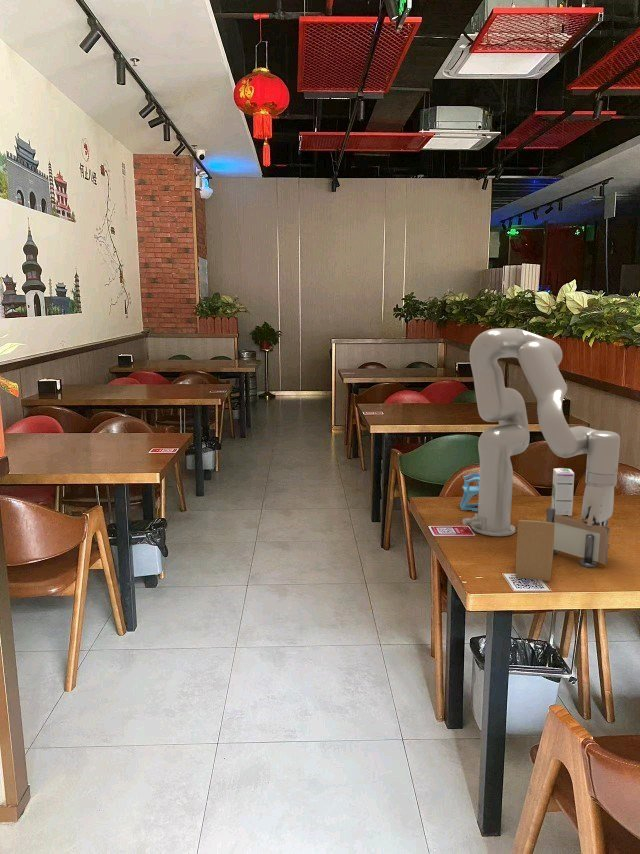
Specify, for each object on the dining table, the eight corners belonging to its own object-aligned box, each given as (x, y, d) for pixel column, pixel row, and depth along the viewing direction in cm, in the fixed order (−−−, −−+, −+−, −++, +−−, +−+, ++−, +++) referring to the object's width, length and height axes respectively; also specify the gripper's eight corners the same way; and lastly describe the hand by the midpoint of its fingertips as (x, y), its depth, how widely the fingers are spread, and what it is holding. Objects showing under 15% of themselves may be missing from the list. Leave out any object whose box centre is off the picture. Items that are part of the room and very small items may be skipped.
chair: (458, 505, 221) (459, 471, 219) (483, 505, 221) (484, 471, 219) (462, 512, 213) (463, 476, 211) (487, 512, 213) (489, 477, 211)
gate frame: (569, 570, 166) (573, 525, 163) (535, 548, 181) (538, 507, 178) (641, 562, 171) (645, 519, 169) (601, 542, 186) (605, 502, 184)
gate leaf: (552, 549, 177) (554, 516, 175) (555, 547, 178) (558, 514, 177) (603, 564, 166) (606, 529, 165) (607, 562, 168) (610, 527, 166)
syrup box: (572, 516, 210) (575, 472, 207) (553, 515, 210) (556, 471, 208) (568, 511, 215) (571, 468, 213) (550, 510, 216) (553, 467, 213)
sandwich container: (550, 559, 173) (553, 505, 171) (551, 582, 159) (555, 523, 156) (516, 555, 176) (519, 502, 173) (514, 577, 161) (518, 519, 159)
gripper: (598, 471, 178) (593, 535, 181) (574, 480, 167) (569, 548, 170) (626, 475, 172) (620, 541, 176) (604, 486, 162) (598, 556, 165)
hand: (595, 545), depth 173 cm, fingers closed
